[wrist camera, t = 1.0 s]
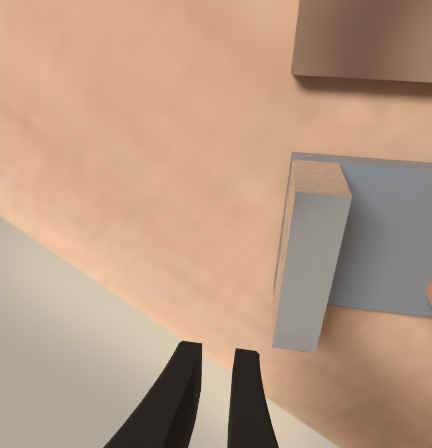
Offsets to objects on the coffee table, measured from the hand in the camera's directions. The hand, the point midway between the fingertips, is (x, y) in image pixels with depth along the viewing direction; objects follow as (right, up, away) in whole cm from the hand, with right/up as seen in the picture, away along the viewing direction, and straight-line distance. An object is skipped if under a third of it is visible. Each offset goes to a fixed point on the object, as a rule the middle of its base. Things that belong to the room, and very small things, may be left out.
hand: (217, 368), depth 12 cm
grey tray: (+10, +4, +7) cm, 13 cm away
